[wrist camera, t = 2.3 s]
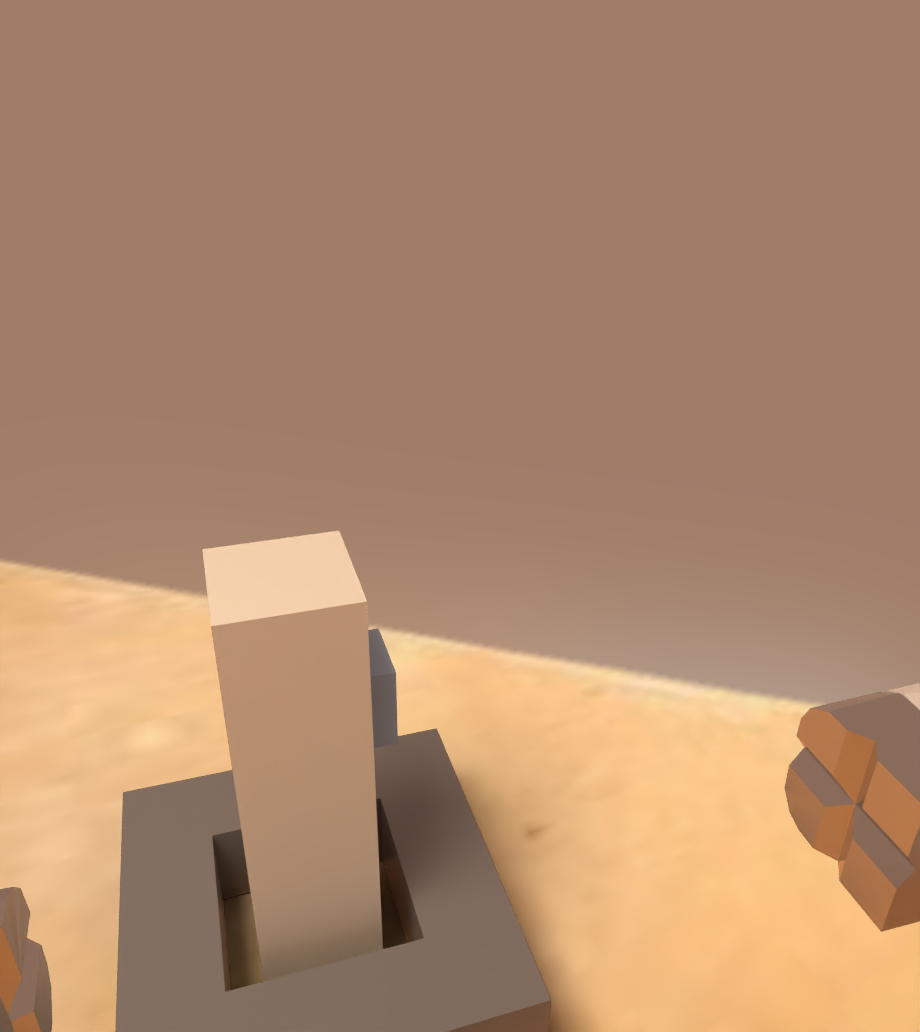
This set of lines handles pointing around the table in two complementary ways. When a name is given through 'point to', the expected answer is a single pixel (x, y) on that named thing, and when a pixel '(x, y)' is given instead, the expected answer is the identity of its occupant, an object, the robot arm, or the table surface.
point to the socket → (340, 985)
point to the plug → (303, 742)
